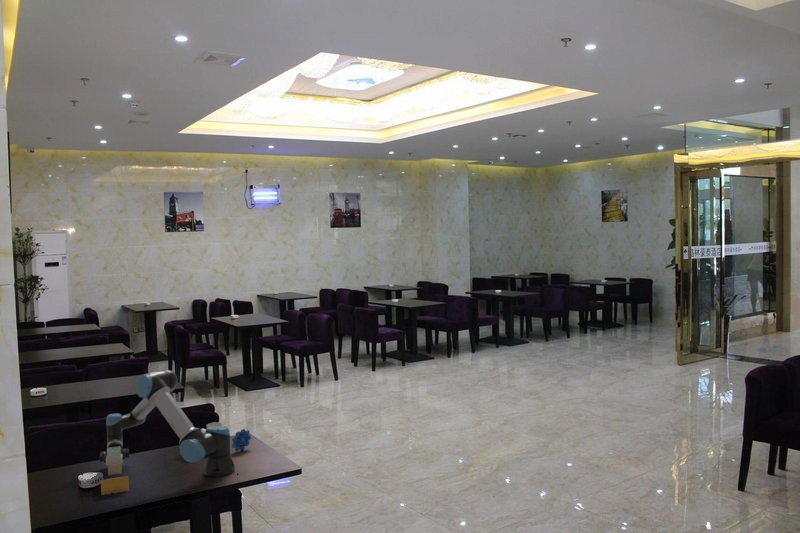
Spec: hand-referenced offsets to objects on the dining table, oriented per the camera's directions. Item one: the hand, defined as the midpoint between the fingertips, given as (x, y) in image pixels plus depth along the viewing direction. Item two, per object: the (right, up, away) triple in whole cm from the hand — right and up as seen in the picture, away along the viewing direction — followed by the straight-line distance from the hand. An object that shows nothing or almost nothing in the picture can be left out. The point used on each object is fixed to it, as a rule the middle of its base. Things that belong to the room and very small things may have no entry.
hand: (114, 461), depth 311 cm
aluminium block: (-2, -7, +5) cm, 9 cm away
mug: (+30, -9, +65) cm, 73 cm away
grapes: (+50, -9, +49) cm, 71 cm away
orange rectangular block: (+3, -12, -5) cm, 13 cm away
